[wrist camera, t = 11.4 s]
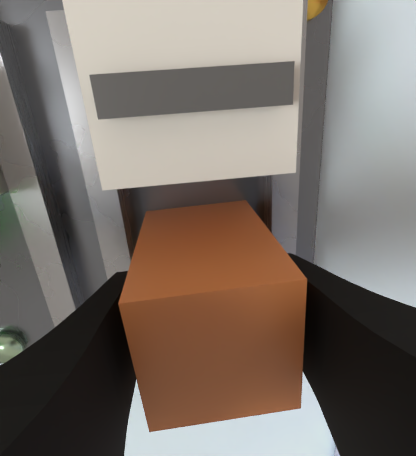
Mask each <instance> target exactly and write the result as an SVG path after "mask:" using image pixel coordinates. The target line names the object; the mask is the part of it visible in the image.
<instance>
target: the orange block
mask: <svg viewBox="0 0 416 456" xmlns="http://www.w3.org/2000/svg"><path fill="white" fill-rule="evenodd" d="M306 293H307V278H306V277H305V276H304V274H303V273H302V272H301V270H300V269H299V268H298V267H297V265H296V264H295V263H294V261H293V260H292V259H291V258H290V256H289V255H288V254H287V252H286V251H285V250H284V249H283V247H282V246H281V245H280V243H279V242H278V241H277V240H276V238H275V237H274V236H273V234H272V233H271V232H270V231H269V229H268V228H267V227H266V225H265V224H264V223H263V222H262V220H261V219H260V218H259V216H258V215H257V214H256V213H255V211H254V210H253V209H252V207H251V206H250V205H249V203H248V202H247V201H246V200H242V201H233V202H224V203H215V204H207V205H198V206H189V207H180V208H171V209H162V210H153V211H146V213H145V217H144V220H143V223H142V226H141V230H140V233H139V236H138V240H137V243H136V246H135V250H134V253H133V256H132V260H131V263H130V266H129V270H128V273H127V276H126V280H125V283H124V286H123V290H122V293H121V296H120V300H119V303H118V305H119V309H120V313H121V317H122V321H123V325H124V329H125V333H126V338H127V342H128V346H129V350H130V354H131V358H132V362H133V366H134V371H135V375H136V379H137V383H138V387H139V391H140V395H141V399H142V404H143V408H144V412H145V416H146V420H147V424H148V428H149V432H153V431H159V430H165V429H172V428H178V427H185V426H191V425H197V424H204V423H210V422H216V421H223V420H229V419H235V418H242V417H248V416H255V415H261V414H267V413H274V412H280V411H286V410H293V409H299V408H301V393H302V373H303V353H304V333H305V313H306Z"/></svg>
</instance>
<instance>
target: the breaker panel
mask: <svg viewBox="0 0 416 456" xmlns="http://www.w3.org/2000/svg"><path fill="white" fill-rule="evenodd" d="M332 4H333V0H303V17H302V40H301V64H300V87H299V110H298V134H297V157H296V173H287V174H276V175H265V176H254V177H243V178H233V179H222V180H211V181H200V182H189V183H178V184H167V185H157V186H146V187H135V188H124V189H113V190H102V187H101V182H100V177H99V172H98V168H97V163H96V158H95V153H94V149H93V144H92V139H91V134H90V130H89V125H88V120H87V116H86V111H85V106H84V101H83V97H82V92H81V87H80V82H79V78H78V73H77V68H76V64H75V59H74V54H73V49H72V45H71V40H70V35H69V30H68V26H67V21H66V16H65V12H64V7H63V2H62V0H0V165H1V168H2V171H3V174H4V177H5V180H6V183H7V186H8V189H9V191H7V192H5V193H3V194H1V195H0V363H5V362H7V361H8V360H10V359H12V358H13V357H15V356H16V355H18V354H19V353H21V352H22V351H24V350H25V349H26V348H28V347H29V346H31V345H32V344H33V343H35V342H36V341H38V340H39V339H40V338H42V337H43V336H44V335H46V334H47V333H48V332H50V331H51V330H52V329H53V328H55V327H56V326H57V325H58V324H60V323H61V322H62V321H63V320H64V319H65V318H67V317H68V316H69V315H70V314H71V313H73V312H74V311H75V310H76V309H77V308H78V307H80V306H81V305H82V304H83V303H84V302H85V301H86V300H87V299H88V298H89V297H90V296H91V295H93V294H94V293H95V292H96V291H97V290H98V289H99V288H100V287H101V286H102V285H103V284H104V283H105V282H106V281H107V280H108V279H109V278H110V277H112V276H113V275H114V274H115V273H116V272H123V271H128V270H129V266H130V263H131V260H132V256H133V253H134V250H135V246H136V243H137V240H138V236H139V233H140V230H141V226H142V223H143V220H144V217H145V213H146V211H153V210H162V209H171V208H180V207H189V206H198V205H207V204H215V203H224V202H233V201H242V200H246V201H247V202H248V203H249V205H250V206H251V207H252V209H253V210H254V211H255V213H256V214H257V215H258V216H259V218H260V219H261V220H262V222H263V223H264V224H265V225H266V227H267V228H268V229H269V231H270V232H271V233H272V234H273V236H274V237H275V238H276V240H277V241H278V242H279V243H280V245H281V246H282V247H283V249H284V250H285V251H286V252H287V253H292V254H294V255H297V256H299V257H301V258H303V259H305V260H307V261H309V262H311V263H313V260H314V247H315V233H316V220H317V206H318V193H319V179H320V166H321V152H322V139H323V125H324V112H325V98H326V85H327V71H328V58H329V44H330V31H331V17H332Z"/></svg>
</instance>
